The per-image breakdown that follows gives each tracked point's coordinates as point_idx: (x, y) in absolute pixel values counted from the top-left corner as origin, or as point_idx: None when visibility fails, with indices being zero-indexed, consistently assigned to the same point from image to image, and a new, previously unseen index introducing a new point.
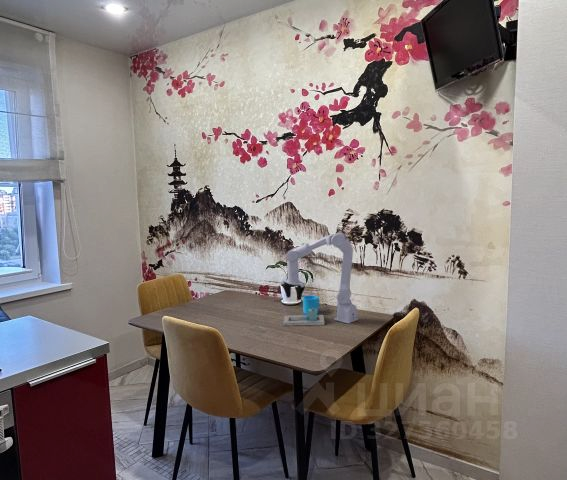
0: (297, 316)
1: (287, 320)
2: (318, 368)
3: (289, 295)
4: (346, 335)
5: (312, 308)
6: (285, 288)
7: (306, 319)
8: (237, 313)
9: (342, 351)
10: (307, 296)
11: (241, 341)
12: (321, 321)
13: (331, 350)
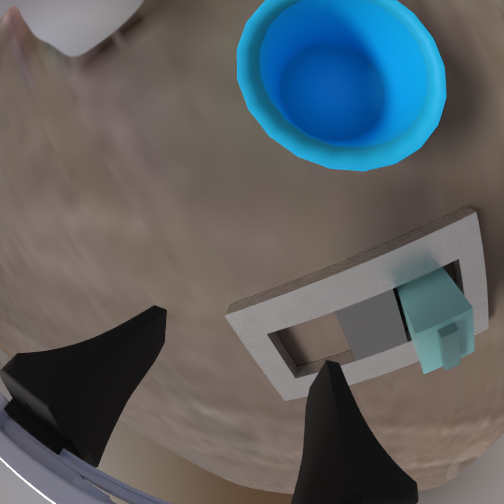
0: (315, 303)
1: (288, 375)
2: (442, 483)
3: (157, 334)
4: None
5: (449, 351)
6: (108, 434)
7: (393, 332)
8: (31, 293)
9: (496, 437)
10: (273, 26)
11: (237, 473)
12: (475, 327)
13: (475, 446)
